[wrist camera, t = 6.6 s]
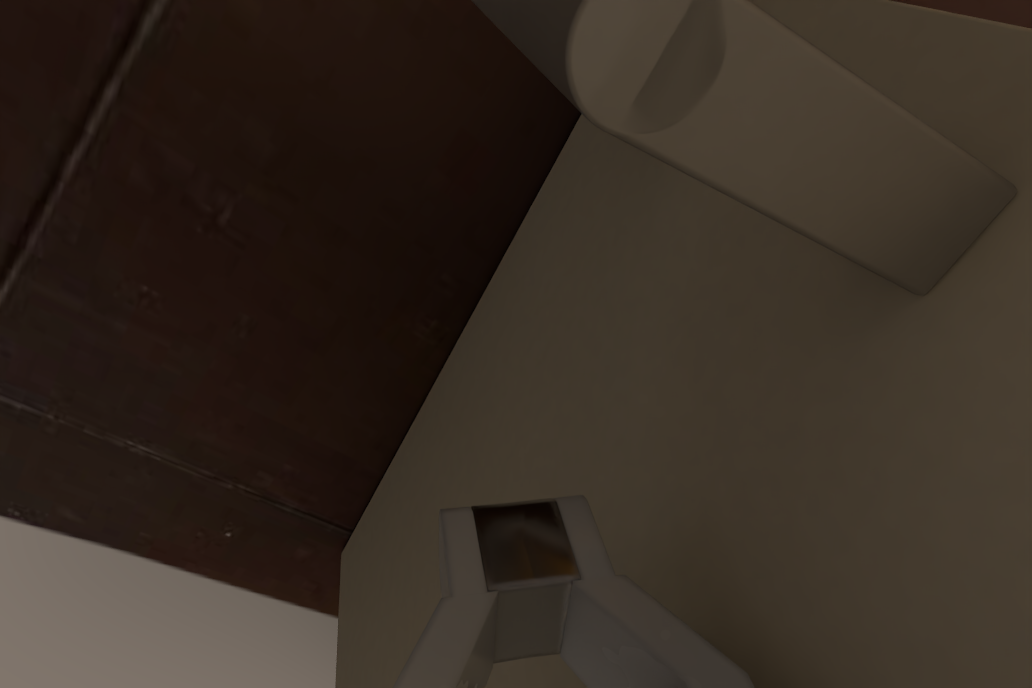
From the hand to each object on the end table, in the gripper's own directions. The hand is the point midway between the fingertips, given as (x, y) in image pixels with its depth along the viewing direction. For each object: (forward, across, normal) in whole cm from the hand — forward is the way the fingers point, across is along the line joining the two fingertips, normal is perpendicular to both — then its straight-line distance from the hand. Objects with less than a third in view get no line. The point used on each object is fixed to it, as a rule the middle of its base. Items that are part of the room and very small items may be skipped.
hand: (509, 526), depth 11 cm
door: (+13, +1, +3) cm, 13 cm away
